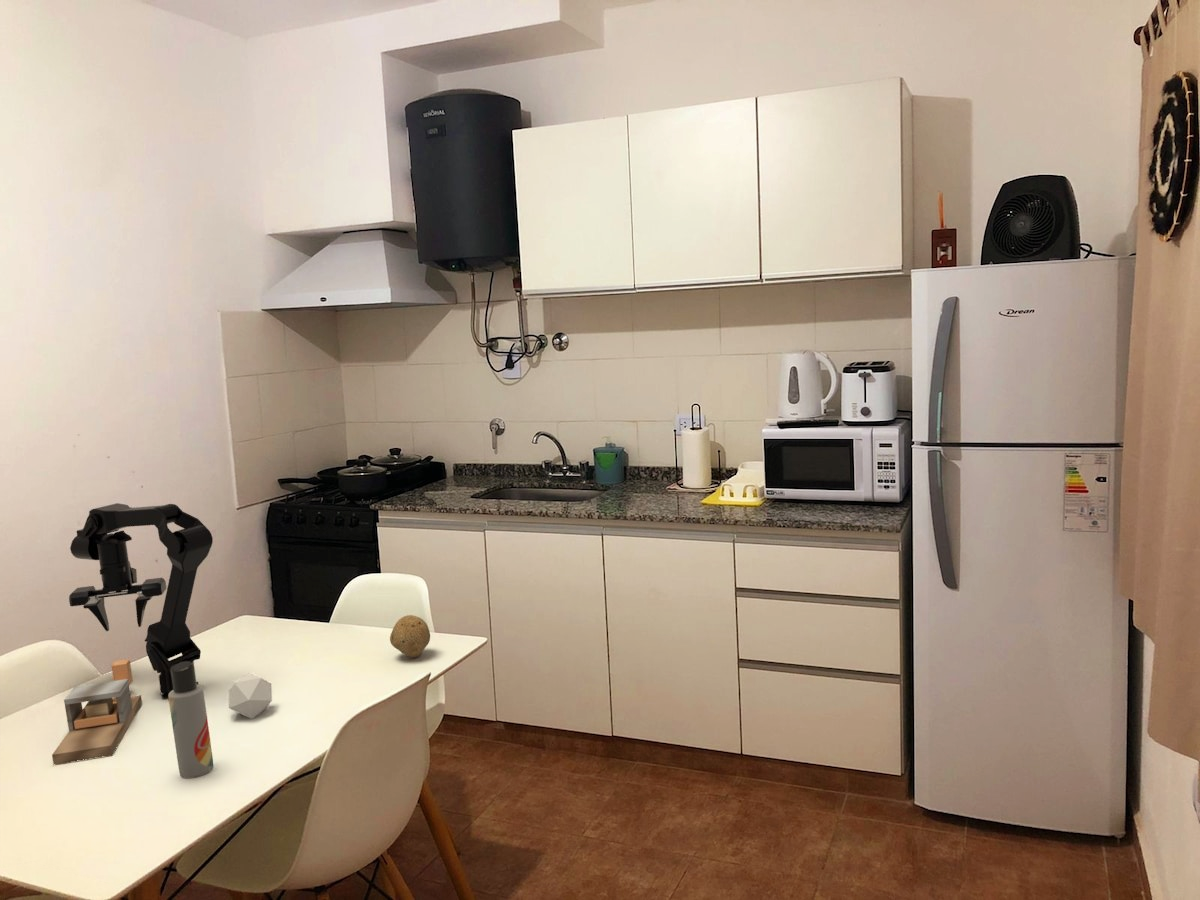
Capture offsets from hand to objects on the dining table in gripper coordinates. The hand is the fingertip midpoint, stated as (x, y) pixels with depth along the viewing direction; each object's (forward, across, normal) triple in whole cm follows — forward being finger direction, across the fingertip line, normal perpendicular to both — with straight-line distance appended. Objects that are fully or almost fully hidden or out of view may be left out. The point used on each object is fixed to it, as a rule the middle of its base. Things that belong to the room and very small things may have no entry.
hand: (124, 628), depth 212 cm
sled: (+11, 0, +17) cm, 20 cm away
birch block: (+11, 0, +25) cm, 27 cm away
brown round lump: (+13, -62, +10) cm, 64 cm away
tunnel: (+13, 0, +26) cm, 30 cm away
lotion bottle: (+13, -22, +52) cm, 58 cm away
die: (+13, -29, +29) cm, 43 cm away
